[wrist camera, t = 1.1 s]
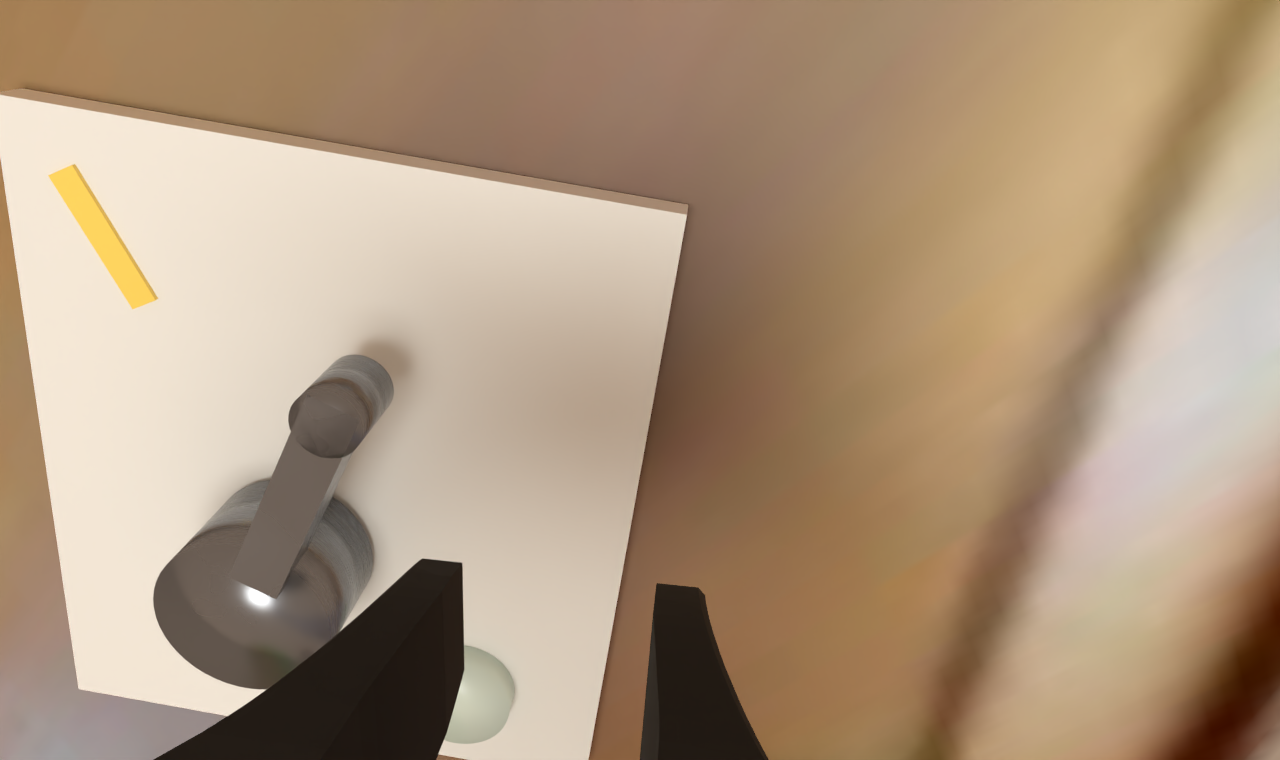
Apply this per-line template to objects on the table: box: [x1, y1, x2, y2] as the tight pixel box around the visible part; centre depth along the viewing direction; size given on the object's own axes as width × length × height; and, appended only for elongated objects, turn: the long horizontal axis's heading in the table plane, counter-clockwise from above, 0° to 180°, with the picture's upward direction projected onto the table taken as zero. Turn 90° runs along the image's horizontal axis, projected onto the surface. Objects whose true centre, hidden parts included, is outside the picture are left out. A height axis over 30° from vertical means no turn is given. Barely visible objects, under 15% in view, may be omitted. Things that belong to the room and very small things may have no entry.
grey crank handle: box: [153, 354, 394, 689], centre depth 22 cm, size 10×4×3 cm, turn 151°
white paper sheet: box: [0, 88, 688, 760], centre depth 24 cm, size 18×16×2 cm
